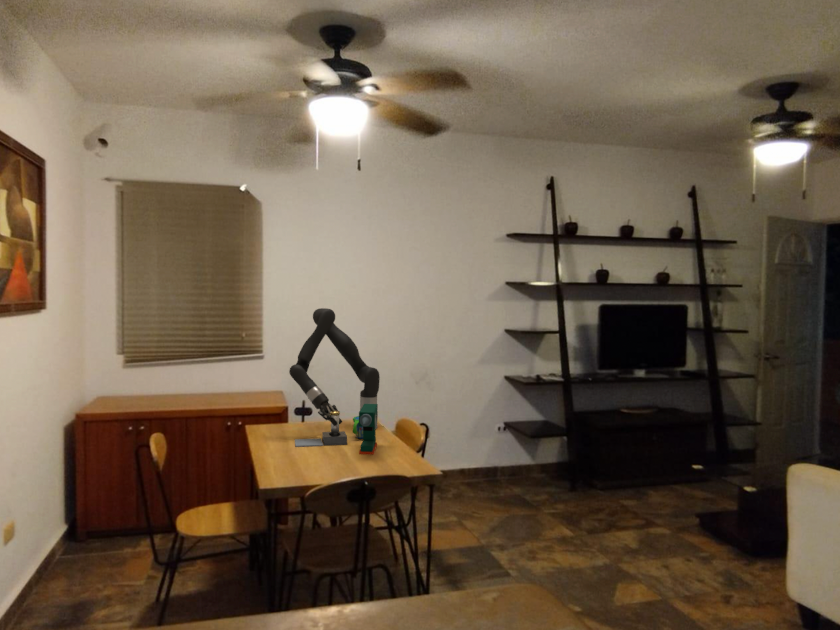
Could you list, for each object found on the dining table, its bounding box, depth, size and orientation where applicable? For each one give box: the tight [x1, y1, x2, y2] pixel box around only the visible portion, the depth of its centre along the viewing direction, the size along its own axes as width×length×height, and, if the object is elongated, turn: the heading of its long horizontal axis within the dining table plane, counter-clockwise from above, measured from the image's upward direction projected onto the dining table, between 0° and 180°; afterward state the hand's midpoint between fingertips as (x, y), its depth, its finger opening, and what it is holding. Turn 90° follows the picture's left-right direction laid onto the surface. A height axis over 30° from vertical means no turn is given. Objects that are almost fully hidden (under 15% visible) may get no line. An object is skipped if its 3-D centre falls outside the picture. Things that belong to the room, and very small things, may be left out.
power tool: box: [358, 403, 379, 455], centre depth 286 cm, size 32×7×20 cm, turn 179°
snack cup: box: [352, 415, 363, 440], centre depth 316 cm, size 16×10×10 cm
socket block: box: [321, 431, 348, 446], centre depth 304 cm, size 11×11×4 cm
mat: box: [294, 437, 324, 448], centre depth 302 cm, size 13×13×1 cm
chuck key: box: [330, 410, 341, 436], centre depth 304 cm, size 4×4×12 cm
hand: (338, 423), depth 304 cm, fingers closed on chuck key, 4 cm apart
